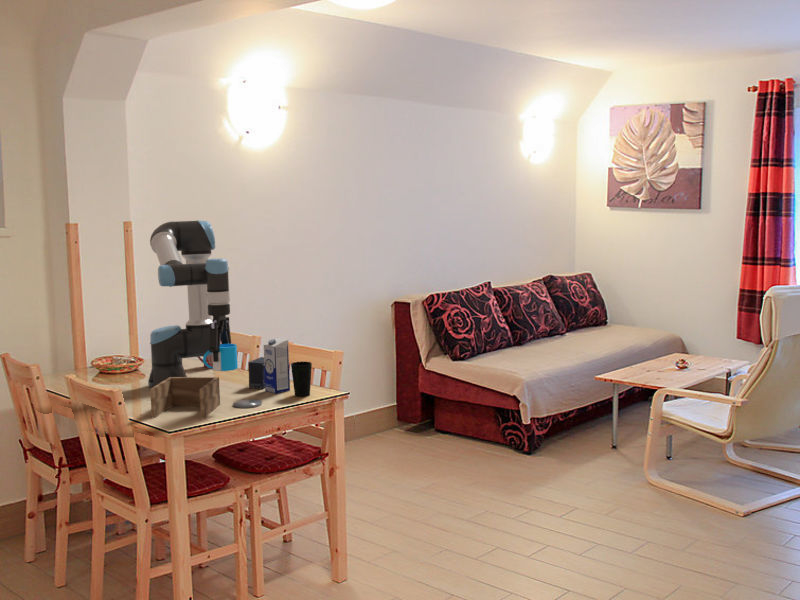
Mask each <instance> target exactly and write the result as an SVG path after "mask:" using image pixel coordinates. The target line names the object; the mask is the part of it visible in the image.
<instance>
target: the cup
mask: <svg viewBox="0 0 800 600" xmlns="http://www.w3.org/2000/svg"><path fill="white" fill-rule="evenodd" d="M312 365H313V363H312V362H311V361H296V362H295V361H294V362H292V363H290V366H291V367H290V368H291V369H290V370H291V376H292V377H291V378H292V383H293V384H292V385H293V391H294V392H293V393H294V396H295V398H296V397H298V398H305V397H310V395H311V386H312V385H311V383H312V367H313V366H312Z"/></svg>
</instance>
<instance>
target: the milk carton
mask: <svg viewBox="0 0 800 600" xmlns="http://www.w3.org/2000/svg"><path fill="white" fill-rule="evenodd" d="M289 350H290V349H289V339H288V338H282V337H275V338H273V339H269V340H268V341H266V343H264V344H263V357H264V368H265V388H264V389H265V390H264V391H266V392H269V393H272V394H275V395H276V394H280V393H285V392H289V391H291V383H290V382H291V381H290V377H291V376H290V355H289Z"/></svg>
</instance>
